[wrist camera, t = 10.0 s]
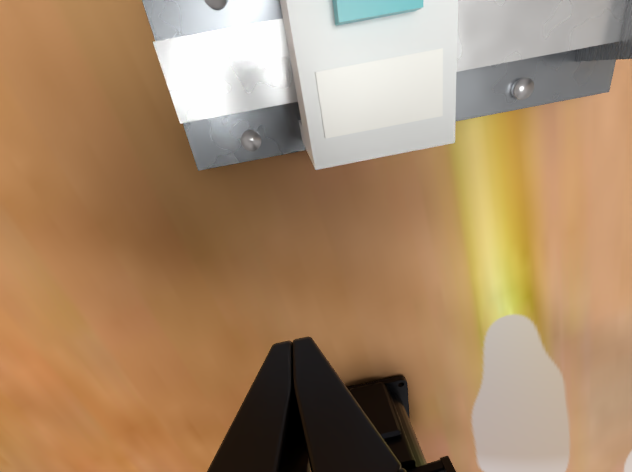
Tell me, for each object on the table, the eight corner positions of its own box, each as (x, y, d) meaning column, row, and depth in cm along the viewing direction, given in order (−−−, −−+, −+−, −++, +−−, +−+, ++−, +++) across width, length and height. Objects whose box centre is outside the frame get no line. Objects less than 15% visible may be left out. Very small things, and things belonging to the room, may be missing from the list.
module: (397, 122, 17) (464, 145, 11) (302, 140, 17) (317, 174, 11) (388, -51, 14) (473, -146, 8) (271, -30, 14) (269, -111, 8)
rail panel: (595, 91, 18) (669, 94, 15) (201, 166, 18) (183, 188, 14) (633, -102, 15) (742, -157, 11) (141, -17, 14) (99, -47, 11)
